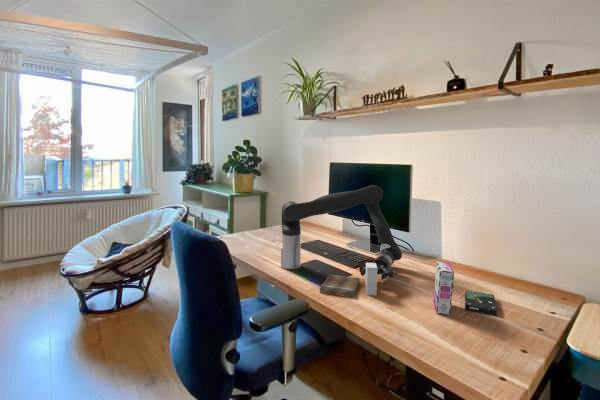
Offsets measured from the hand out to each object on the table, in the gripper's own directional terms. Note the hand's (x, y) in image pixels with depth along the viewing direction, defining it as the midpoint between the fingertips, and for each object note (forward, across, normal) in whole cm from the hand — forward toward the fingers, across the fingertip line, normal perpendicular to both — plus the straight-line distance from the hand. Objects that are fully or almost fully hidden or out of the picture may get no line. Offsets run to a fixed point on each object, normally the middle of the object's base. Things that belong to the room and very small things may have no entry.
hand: (371, 275), depth 135 cm
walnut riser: (+2, -13, +7) cm, 15 cm away
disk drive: (-9, +40, +8) cm, 42 cm away
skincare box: (+1, 0, +7) cm, 7 cm away
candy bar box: (+1, +27, +7) cm, 28 cm away
